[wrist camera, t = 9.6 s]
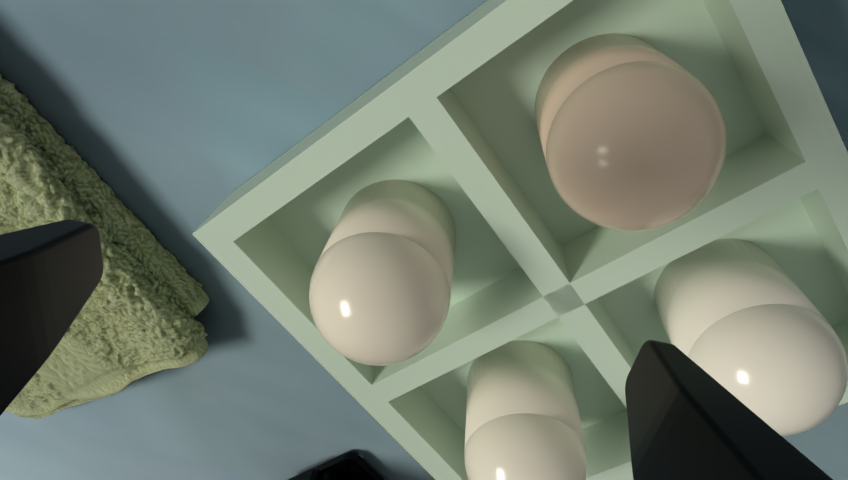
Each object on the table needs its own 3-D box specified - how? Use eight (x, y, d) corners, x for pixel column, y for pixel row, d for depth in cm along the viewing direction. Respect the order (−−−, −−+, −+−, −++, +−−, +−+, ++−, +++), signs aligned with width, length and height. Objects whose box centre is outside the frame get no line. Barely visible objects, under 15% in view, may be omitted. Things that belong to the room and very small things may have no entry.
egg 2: (592, 394, 24) (621, 528, 19) (503, 432, 26) (508, 566, 20) (537, 323, 23) (553, 447, 17) (447, 368, 24) (436, 494, 19)
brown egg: (648, 179, 20) (710, 276, 14) (520, 157, 20) (534, 245, 14) (697, 46, 17) (793, 101, 12) (554, 21, 17) (585, 66, 12)
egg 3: (798, 305, 21) (905, 435, 16) (685, 354, 23) (746, 487, 17) (751, 216, 20) (850, 326, 14) (633, 275, 21) (682, 394, 16)
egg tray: (882, 309, 22) (942, 367, 19) (487, 470, 28) (487, 532, 25) (672, -139, 16) (713, -154, 13) (230, 194, 22) (192, 234, 19)
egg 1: (479, 248, 21) (476, 357, 16) (388, 301, 23) (357, 416, 18) (408, 156, 20) (379, 242, 15) (316, 219, 22) (258, 318, 16)
